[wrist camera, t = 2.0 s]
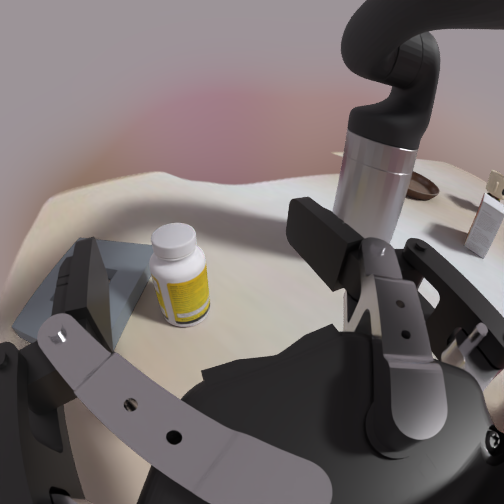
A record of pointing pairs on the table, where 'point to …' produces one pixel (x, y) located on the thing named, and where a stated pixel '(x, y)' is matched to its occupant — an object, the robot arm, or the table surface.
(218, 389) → the robot arm
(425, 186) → the plant saucer
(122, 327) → the hole board
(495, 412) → the table surface
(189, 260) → the supplement bottle
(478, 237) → the small box
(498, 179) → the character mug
